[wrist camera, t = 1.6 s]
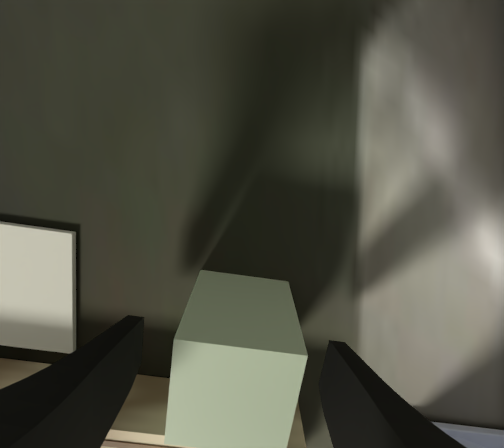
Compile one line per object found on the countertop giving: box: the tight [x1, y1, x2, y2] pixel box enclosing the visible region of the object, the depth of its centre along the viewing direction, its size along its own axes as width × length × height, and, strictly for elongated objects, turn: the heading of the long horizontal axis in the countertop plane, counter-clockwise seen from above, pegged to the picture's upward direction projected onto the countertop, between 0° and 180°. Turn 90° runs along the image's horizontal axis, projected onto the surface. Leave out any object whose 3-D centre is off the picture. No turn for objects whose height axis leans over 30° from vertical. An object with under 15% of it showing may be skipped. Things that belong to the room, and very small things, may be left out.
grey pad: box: [0, 221, 76, 354], centre depth 14 cm, size 6×6×1 cm
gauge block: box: [164, 270, 308, 448], centre depth 12 cm, size 4×4×5 cm
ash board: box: [0, 358, 306, 448], centre depth 14 cm, size 17×5×3 cm, turn 82°
